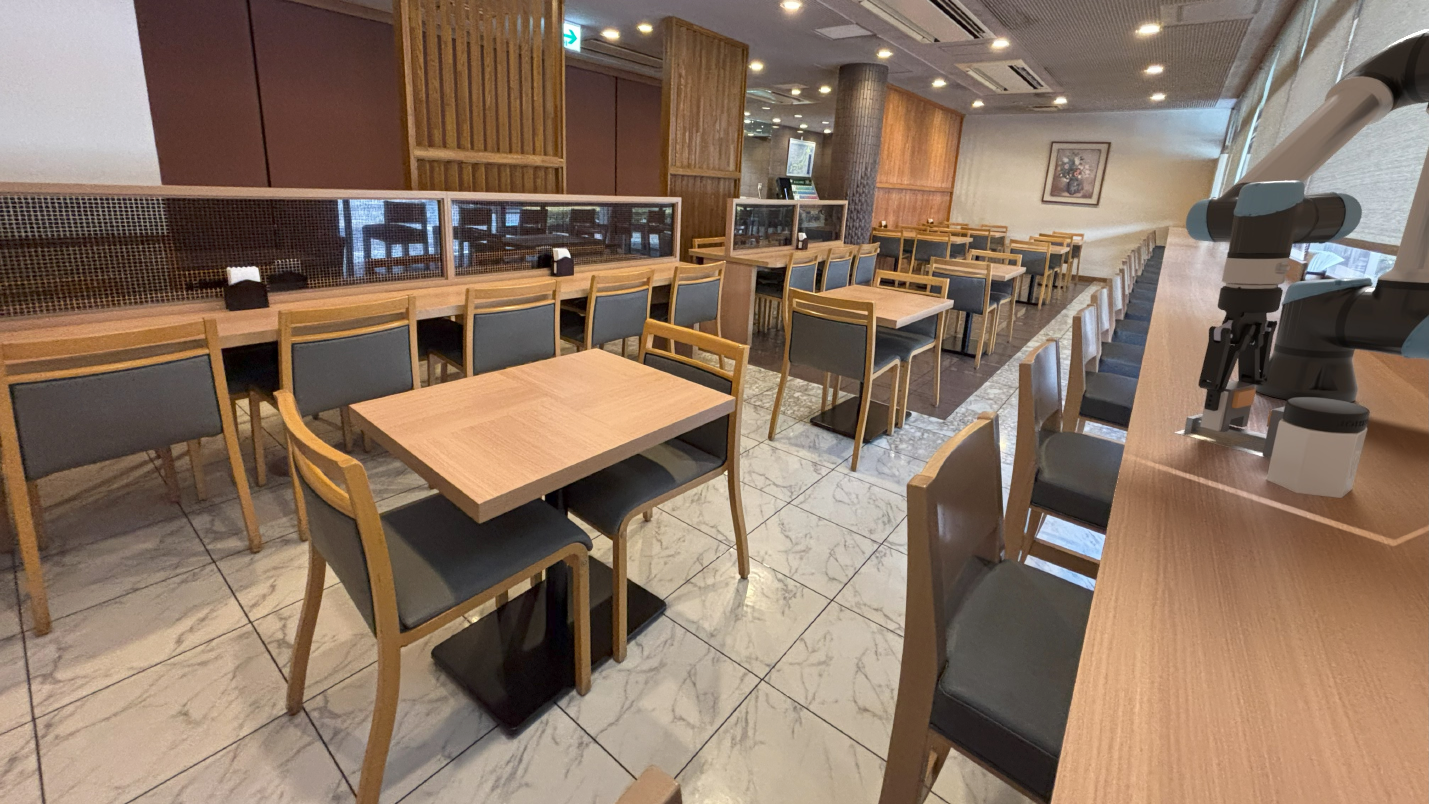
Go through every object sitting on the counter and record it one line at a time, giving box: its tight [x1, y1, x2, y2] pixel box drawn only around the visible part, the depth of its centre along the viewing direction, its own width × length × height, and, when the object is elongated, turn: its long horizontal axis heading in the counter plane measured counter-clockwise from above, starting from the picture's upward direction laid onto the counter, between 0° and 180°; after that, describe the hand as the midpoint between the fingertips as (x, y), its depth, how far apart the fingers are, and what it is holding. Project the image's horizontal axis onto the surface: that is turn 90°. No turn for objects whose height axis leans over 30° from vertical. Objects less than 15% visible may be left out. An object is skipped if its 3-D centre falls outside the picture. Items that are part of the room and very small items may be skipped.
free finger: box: [1204, 380, 1257, 432], centre depth 103 cm, size 4×6×7 cm, turn 113°
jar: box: [1266, 397, 1371, 499], centre depth 84 cm, size 9×8×12 cm
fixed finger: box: [1263, 405, 1285, 456], centre depth 96 cm, size 4×6×7 cm, turn 113°
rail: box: [1173, 413, 1271, 460], centre depth 100 cm, size 9×20×3 cm, turn 23°
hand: (1224, 424), depth 104 cm, fingers closed on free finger, 6 cm apart
